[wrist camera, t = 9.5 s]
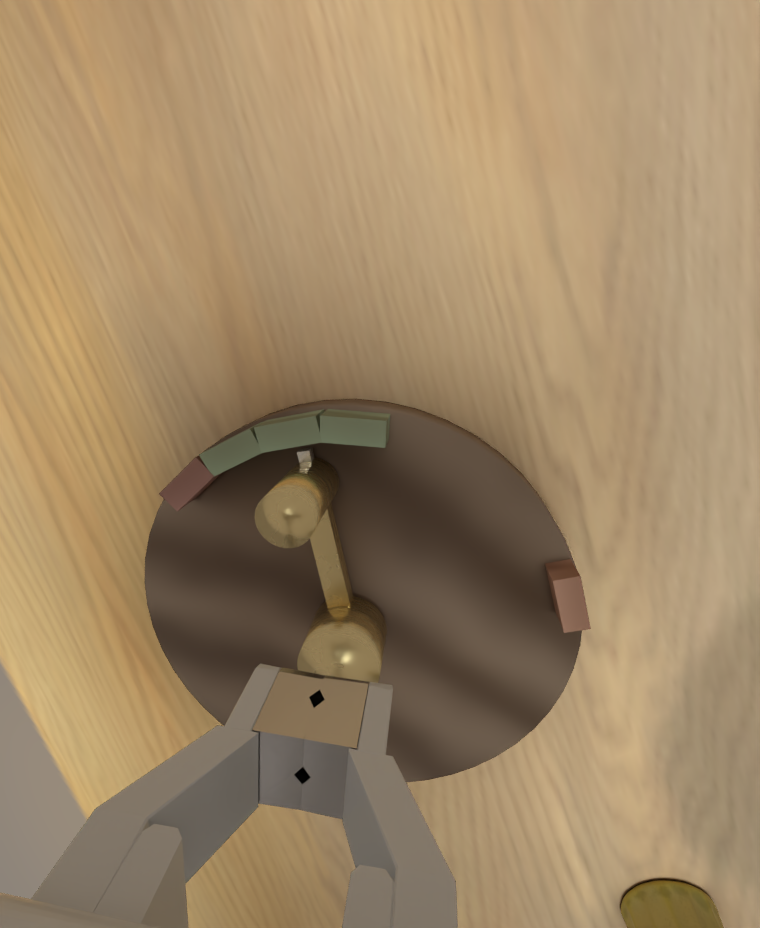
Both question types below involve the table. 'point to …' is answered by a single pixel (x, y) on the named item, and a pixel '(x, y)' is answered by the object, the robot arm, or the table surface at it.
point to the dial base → (376, 575)
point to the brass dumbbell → (324, 573)
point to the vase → (669, 906)
